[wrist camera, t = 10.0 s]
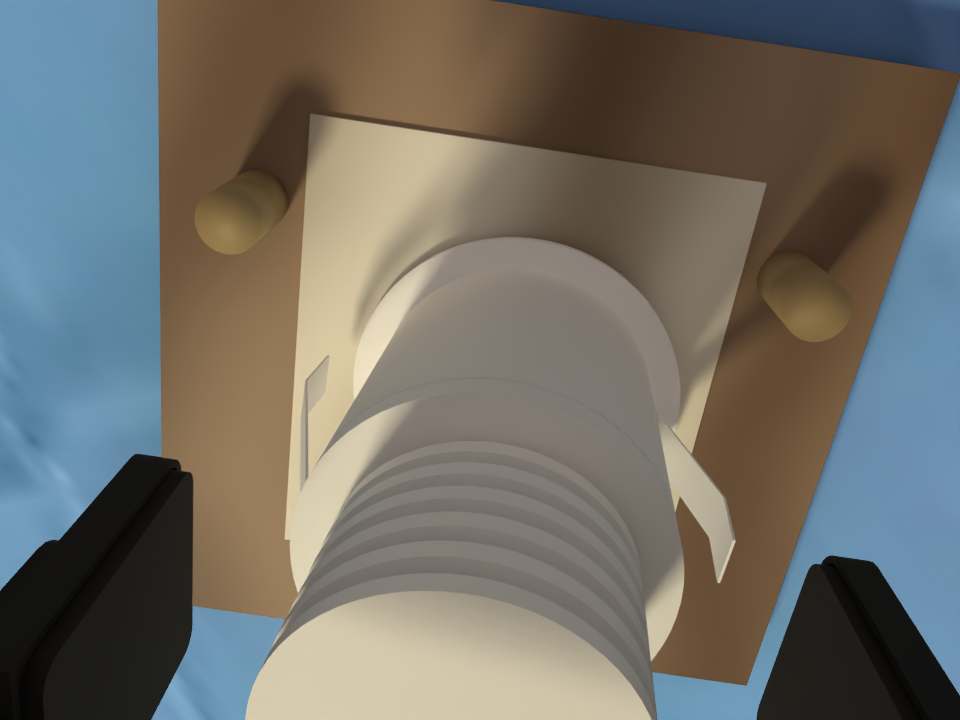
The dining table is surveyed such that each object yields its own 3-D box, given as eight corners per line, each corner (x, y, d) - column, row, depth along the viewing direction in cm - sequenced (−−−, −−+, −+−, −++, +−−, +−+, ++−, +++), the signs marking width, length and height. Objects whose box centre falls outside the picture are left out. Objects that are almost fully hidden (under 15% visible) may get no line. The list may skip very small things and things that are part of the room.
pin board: (931, 69, 17) (1020, 82, 14) (735, 651, 22) (767, 749, 20) (181, -48, 16) (107, -60, 13) (180, 572, 22) (128, 658, 19)
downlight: (743, 278, 17) (937, 590, 8) (651, 559, 20) (713, 1037, 10) (358, 196, 17) (99, 403, 8) (320, 485, 20) (96, 887, 11)
